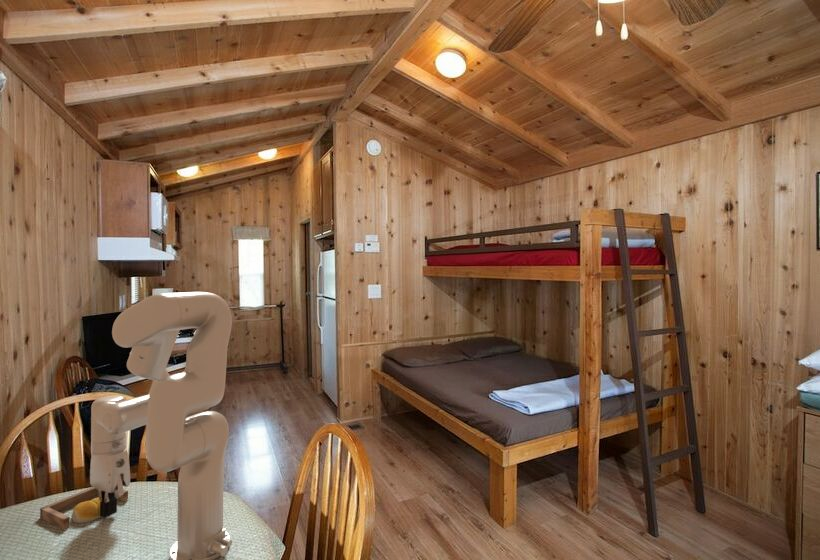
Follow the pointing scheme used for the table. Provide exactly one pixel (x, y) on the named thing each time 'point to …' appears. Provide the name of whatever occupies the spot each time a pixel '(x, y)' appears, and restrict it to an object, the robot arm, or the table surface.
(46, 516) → the frame
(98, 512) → the bread roll
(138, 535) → the table surface
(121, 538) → the table surface
